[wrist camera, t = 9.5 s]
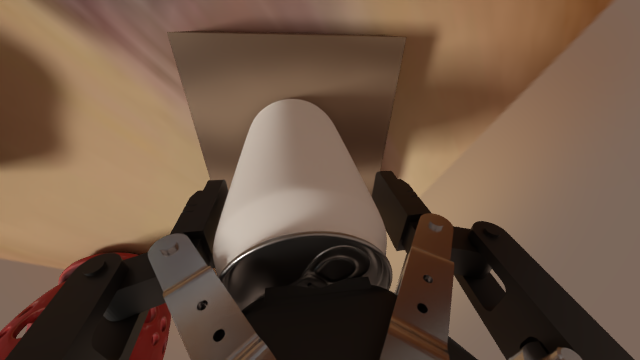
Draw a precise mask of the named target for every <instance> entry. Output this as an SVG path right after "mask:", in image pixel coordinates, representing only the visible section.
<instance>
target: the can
mask: <svg viewBox="0 0 640 360" xmlns="http://www.w3.org/2000/svg"><path fill="white" fill-rule="evenodd" d="M386 245H387V238H386V230H385V226H384V223H383V220H382V218H381V216H380V213H379V211H378V209H377V207H376V205H375V203H374V201H373V199H372V197H371V195H370V193H369V191H368V189H367V187H366V185H365V183H364V181H363V179H362V177H361V175H360V173H359V171H358V169H357V168H356V166H355V164H354V162H353V160H352V158H351V156H350V154H349V152H348V150H347V148H346V146H345V144H344V142H343V141H342V139H341V137H340V135H339V133H338V131H337V129H336V127H335V126H334V124H333V122H332V121H331V119H330V118H329V117H328V115H327V114H326V113H325V112H324V111H322V110H321V109H320V108H319V107H317V106H316V105H314V104H312V103H310V102H307V101H304V100H299V99H285V100H280V101H277V102H274V103H272V104H270V105H268V106H267V107H265V108H264V109H263V110H261V111H260V112H259V113H258V115H257V116H256V117H255V119H254V120H253V122H252V124H251V126H250V129H249V132H248V134H247V137H246V140H245V143H244V146H243V149H242V152H241V155H240V158H239V161H238V164H237V167H236V170H235V173H234V176H233V180H232V183H231V186H230V189H229V192H228V195H227V198H226V201H225V204H224V208H223V211H222V214H221V217H220V220H219V224H218V227H217V231H216V234H215V239H214V244H213V260H214V265H215V269H216V273H217V276H218V278H219V279H220V281H221V282H222V284H223V285H224V287H225V288H226V290H227V291H228V292H229V294H230V295H231V297H232V298H233V300H234V301H235V303H236V304H237V306H238V307H239V309H240V310H241V311H242V310H243V309H244V308H245V307H247V306H248V305H249V304H251V303H252V302H254V301H256V300H258V299H260V298H262V297H265V288H270V287H279V286H288V285H295V286H302V287H310V288H322V287H325V286H328V285H330V284H333V283H335V282H338V281H340V280H343V279H350V278H359V277H369V280H370V283H371V285H376V286H380V287H382V288H385V289H387V290H389V288H390V286H391V283H392V268H391V265H390V263H389V261H388V259H387V257H386Z"/></svg>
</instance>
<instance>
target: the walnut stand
mask: <svg viewBox="0 0 640 360" xmlns="http://www.w3.org/2000/svg"><path fill="white" fill-rule="evenodd" d="M167 34H168V38H169V41H170V44H171V48H172V51H173V55H174V58H175V61H176V65H177V68H178V71H179V75H180V78H181V82H182V85H183V88H184V92H185V95H186V99H187V102H188V105H189V109H190V112H191V116H192V119H193V122H194V126H195V129H196V133H197V136H198V139H199V143H200V146H201V150H202V153H203V156H204V160H205V163H206V167H207V170H208V173H209V177H210V180H225V181H226V183H227V187H228V191H229V189H230V186H231V183H232V180H233V176H234V173H235V170H236V167H237V164H238V161H239V158H240V155H241V152H242V149H243V146H244V143H245V140H246V137H247V134H248V132H249V129H250V126H251V124H252V122H253V120H254V119H255V117H256V116H257V115H258V113H259V112H260V111H261V110H263V109H264V108H265V107H267V106H268V105H270V104H272V103H274V102H277V101H280V100H285V99H299V100H304V101H307V102H310V103H312V104H314V105H316V106H317V107H319V108H320V109H321V110H322V111H324V112H325V113H326V114H327V115H328V117H329V118H330V119H331V121H332V122H333V124H334V126H335V127H336V129H337V131H338V133H339V135H340V137H341V139H342V141H343V142H344V144H345V146H346V148H347V150H348V152H349V154H350V156H351V158H352V160H353V162H354V164H355V166H356V168H357V169H358V171H359V173H360V175H361V177H362V179H363V181H364V183H365V185H366V187H367V189H368V191H369V193H370V195H371V197H372V191H373V186H374V181H375V175H376V173H377V172H379V171H380V169H381V164H382V159H383V154H384V149H385V144H386V139H387V133H388V128H389V123H390V118H391V113H392V108H393V103H394V98H395V93H396V87H397V82H398V77H399V72H400V67H401V62H402V57H403V52H404V46H405V41H406V37H397V36H384V35H342V34H296V33H250V32H205V31H184V32H167Z"/></svg>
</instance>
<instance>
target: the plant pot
mask: <svg viewBox="0 0 640 360" xmlns="http://www.w3.org/2000/svg"><path fill="white" fill-rule="evenodd" d="M115 253H117V252H115ZM102 254H104V253H102ZM117 254H119V255H120V256H121V258H122V259H123V260H125V259H128V258H131V257H135V256H138V255H137V254H131V253H117ZM98 255H101V254H96V255H92V256H89V257H86V258H83V259H80V260H78V261H76V262H74V263H73V264H71V265H70V266H69V267H67V268H66V269H65V270H64V271H63V272H62V274H61V276H60V278H59V283H58V284H59V285H58V286H56V287H54V288H53V289H51V290H50V291H48V292H47V293H45V294H44V295H42V296H41V297H40V298H38V299H37V300H36V301H34V302H33V303H32V304H31V305H29V306H28V307H27V308H26V309H24V310H23V311H22V312H21V313H20V314H19V315H18V316H16V317H15V318H14V319H13V320H12V321H11V322H10V323H9V324H8V325H7V326H6V327H4V328H3V329H2V330H1V332H0V360H5V359H6V357H7V356H8V355H9V353H10V352H11V351H12V350H13V348H14V347H15V346H16V345H17V343H18V342H19V341H20V339H21V338H18V339H16V337H17V335H18V334H19V332H20V331H21V330H22V329H23V328H24V327H25V326H26V325H27V330H28V329H29V328H30V327H31V325H32V324H33V323H34V321H35V320H36V319H37V318H38V316H39V315H40V314H41V312H42V311H43V310H44V309H45V307H46V306H47V305H48V304H49V302H50V301H51V300H52V298H53V297H54V296H55V295H56V293H57V292H58V291H59V289H60V288H61V287H62V286H63V284H64V283H65V282H66V280H67V279H68V278H69V277H70V275H71V274H72V273H73V272H74V271H75V269H76V268H78V267H79V266H80V265H81V264H82V263H84V262H86V261H87V260H89V259H91V258H93V257H95V256H98ZM170 321H171V313H170V311H169V309H168V307H167V304H166V303H164V304H162V305H159V306H156V307H154V308H151V309H149V312H148V314H147V317H146V319H145V322H144V324H143V327H142V329H141V331H140V334H139V336H138V339H137V341H136V344H135V346H134V349H133V351H132V353H131V356H130V358H129V360H163V357H164V353H165V350H166V345H167V341H168V334H169V328H170ZM27 330H26V332H27ZM26 332H25V333H26Z"/></svg>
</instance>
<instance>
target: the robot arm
mask: <svg viewBox="0 0 640 360" xmlns="http://www.w3.org/2000/svg"><path fill="white" fill-rule="evenodd" d="M228 192H229V191H228V187H227V183H226V181H225V180H209V181H208V182H207V184H206V186H205V188H204V190H203V191H197V192H196V193H195V194H194V195H192V196H191V197H190V198H189V200H188V202H187V204H186V206H185V208H184V210H183V213H181V215H180V217H179V219H178V221H177V222H176V224H175V226H174V228H173V230H172V232H171V234H170V235H167V236H165V237H163V238H161V239H159V240H158V241H156V242H155V243H154V244H153V245H152V246H151V248H150V249H149V251H148V252H147V253H144V254H141V255H138V256H135V257H131V258H128V259H125V260H123V259H122V258H121V256H120V255H119V254H117V253H104V254H101V255H98V256H95V257H93V258H91V259H89V260H87V261H86V262H84V263H82V264H81V265H80V266H79V267H78V268H76V269H75V271H74V272H73V273H72V274H71V275H70V277H69V278H68V279H67V280H66V282H65V283H64V284H63V286H62V287H61V288H60V289H59V291H58V292H57V293H56V295H55V296H54V297H53V298H52V300H51V301H50V302H49V304H48V305H47V306H46V307H45V309H44V310H43V311H42V312H41V314H40V315H39V316H38V318H37V319H36V320H35V321H34V323H33V324H32V325H31V327H30V328H29V329H28V330H27V332H26V333H25V334H24V336H23V337H22V338H21V339H20V341H19V342H18V343H17V345H16V346H15V347H14V348H13V350H12V351H11V352H10V353H9V355H8V356H7V357H6V359H5V360H129V358H130V356H131V353H132V351H133V349H134V346H135V344H136V341H137V339H138V336H139V334H140V331H141V329H142V327H143V324H144V322H145V319H146V317H147V314H148V312H149V309H151V308H154V307H156V306H159V305H162V304H164V303H166V304H167V307H168V309H169V311H170V313H171V315H172V318H173V320H174V322H175V325H176V327H177V329H178V332H179V334H180V336H181V339H182V341H183V343H184V346H185V348H186V350H187V352H188V355H189V357H190V359H191V360H477V359H476V358H475V357H474V356H472V355H471V354H470V353H469V352H467V351H466V350H465V349H464V348H463V347H461V346H460V345H459V344H458V343H456V342H455V341H454V340H453V339H451V338H450V337H449V336H448V333H449V321H450V310H451V298H452V287H453V276H455V277H456V279H457V281H458V282H459V284H460V285H461V287H462V289H463V290H464V292H465V293H466V295H467V297H468V298H469V300H470V302H471V303H472V305H473V306H474V308H475V310H476V311H477V313H478V314H479V316H480V318H481V319H482V321H483V323H484V324H485V326H486V327H487V329H488V331H489V332H490V334H491V336H492V337H493V339H494V340H495V342H496V344H497V345H498V347H499V348H500V350H501V352H502V353H503V355H504V356H505V358H506V360H634V359H633V358H632V357H631V356H630V355H629V354H628V353H627V352H626V351H625V350H624V349H623V348H622V347H621V346H620V345H619V344H618V343H617V342H616V341H615V340H614V339H613V338H612V337H611V336H610V335H609V334H608V333H607V332H606V331H605V330H604V329H603V328H602V327H601V326H600V325H599V324H598V323H597V322H596V321H595V320H594V319H593V318H592V317H591V316H590V315H589V314H588V313H587V312H586V311H585V310H584V309H583V308H582V307H581V306H580V305H579V304H578V303H577V302H576V301H575V300H574V299H573V298H572V297H571V296H570V295H569V294H568V293H567V292H566V291H565V290H564V289H563V288H562V287H561V286H560V285H559V284H558V283H557V282H556V281H555V280H554V279H553V278H552V277H551V276H550V275H549V274H548V273H547V272H546V271H545V270H544V269H543V268H542V267H541V266H540V265H539V264H538V263H537V262H536V261H535V260H534V259H533V258H532V257H531V256H530V255H529V254H528V253H527V252H526V251H525V250H524V249H523V248H522V247H521V246H520V245H519V244H518V243H517V242H516V241H515V240H514V239H513V238H512V237H511V236H510V235H509V234H508V233H507V232H506V231H505V230H504V229H502V228H500V227H499V226H497V225H495V224H492V223H489V222H484V221H479V222H476V223H474V224H473V226H472V228H471V229H466V228H460V227H454V226H452V224H451V223H450V222H449V221H448V220H447V219H445V218H444V217H442V216H440V215H437V214H432V213H431V212H430V211H429V210H428V208H427V207H426V206H425V204H424V203H423V202H422V201H421V199H420V198H419V197H417V194H416V193H415V192H413V189H412V188H411V187H410V185H409V184H407V183H406V182H404V181H403V180H401V179H397V178H396V176H395V175H394V174H393V172H392V171H379V172H377V173H376V175H375V181H374V186H373V191H372V199H373V201H374V203H375V205H376V207H377V209H378V211H379V213H380V216H381V218H382V220H383V223H384V226H385V229H386V231H387V233H388V235H389V237H390V239H391V241H392V243H393V245H394V247H395V248H396V250H397V251H400V250H405V251H406V253H407V255H406V258H405V261H404V264H403V267H402V271H401V274H400V277H399V281H398V284H397V287H396V290H395V293H393V292H391V291H389V290H387V289H385V288H382V287H380V286H376V285H371V283H370V280H369V277H359V278H350V279H343V280H340V281H338V282H335V283H333V284H330V285H328V286H325V287H322V288H310V287H302V286H295V285H288V286H279V287H270V288H265V297H262V298H260V299H258V300H256V301H254V302H252V303H251V304H249V305H248V306H247V307H245V308H244V309H243V310H242V311H241V310H240V309H239V307H238V306H237V304H236V303H235V301H234V300H233V298H232V297H231V295H230V294H229V292H228V291H227V290H226V288H225V287H224V285H223V284H222V282H221V281H220V279H219V278H218V276H217V275H216V273H215V272H214V270H213V269H212V268H215V265H214V260H213V244H214V239H215V234H216V231H217V227H218V224H219V220H220V217H221V214H222V211H223V208H224V204H225V201H226V198H227V195H228ZM491 269H493V270H494V272H495V273H496V274H497V275H498V276H499V278H500V279H501V280H502V282H503V283H504V285H505V288H506V293H505V291H504V290H503V289H502V288H501V286H500V285H499V284H498V282H497V281H496V280H495V278H494V277H493V276H492V275H491V273H490V271H491Z"/></svg>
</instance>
